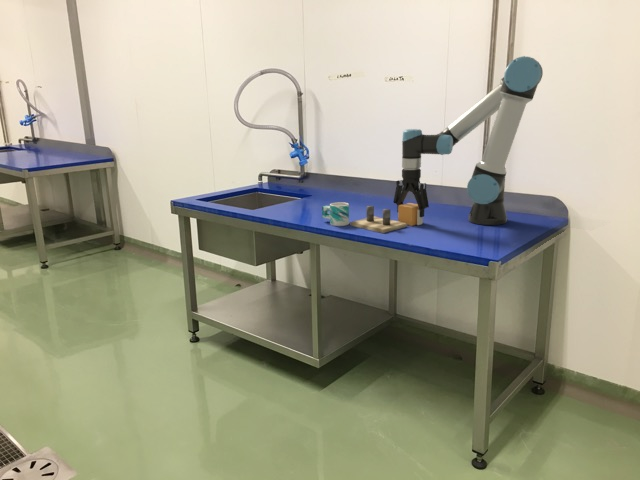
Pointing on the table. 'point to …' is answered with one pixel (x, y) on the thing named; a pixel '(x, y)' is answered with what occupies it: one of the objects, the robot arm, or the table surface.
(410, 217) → the wooden block
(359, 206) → the table surface
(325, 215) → the mug
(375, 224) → the board
